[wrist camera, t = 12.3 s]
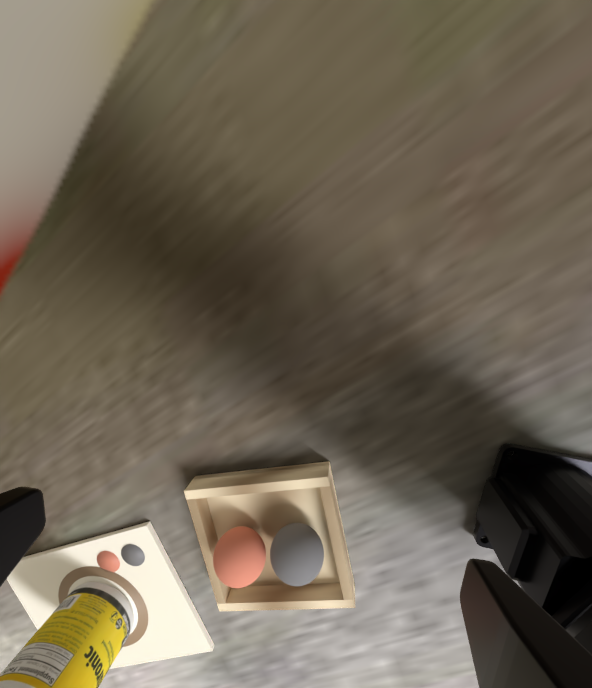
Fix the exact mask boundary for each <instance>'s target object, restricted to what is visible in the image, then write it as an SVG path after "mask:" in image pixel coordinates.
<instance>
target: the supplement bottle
mask: <svg viewBox="0 0 592 688" xmlns="http://www.w3.org/2000/svg"><path fill="white" fill-rule="evenodd" d="M133 623H134V615H133V611H132V608H131V605H130V603H129V602H128V600H127V599H126V597H125V596H124V595H123V594H122V593H121V592H120V591H118V590H117V589H115V588H114V587H112V586H110V585H107V584H104V583H100V582H87V583H83V584H81V585H79V586H78V587H76V588H75V589H74V590H73V591H72V592H71V593H70V594H69V595H68V596H67V597H66V598H65V599H64V601H63V602H62V603H61V604H60V605H59V606H58V607H57V609H56V610H55V611H54V612H53V613H52V614H51V616H50V617H49V618H48V619H47V620H46V621H45V623H44V624H43V625H42V626H41V627H40V629H39V630H38V631H37V632H36V633H35V634H34V636H33V637H32V638H31V639H30V640H29V641H28V643H27V644H26V645H25V646H24V647H23V648H22V650H21V651H20V652H19V653H18V654H17V656H16V657H15V658H14V659H13V660H12V661H11V662H10V664H9V665H8V666H7V667H6V668H5V669H4V671H3V672H2V673H1V674H0V688H98V687H99V685H100V683H101V682H102V680H103V678H104V677H105V675H106V673H107V672H108V670H109V668H110V667H111V665H112V663H113V662H114V660H115V658H116V657H117V655H118V653H119V652H120V650H121V649H122V647H123V645H124V644H125V642H126V640H127V638H128V636H129V634H130V632H131V630H132V628H133Z"/></svg>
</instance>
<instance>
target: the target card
mask: <svg viewBox="0 0 592 688" xmlns="http://www.w3.org/2000/svg"><path fill="white" fill-rule="evenodd" d="M7 580H8V582H9V584H10V585H11V587H12V589H13V590H14V592H15V593H16V595H17V597H18V598H19V600H20V602H21V603H22V605H23V607H24V608H25V610H26V612H27V613H28V615H29V616H30V618H31V620H32V621H33V623H34V625H35V626H36V628H37V630H39V629H40V627H41V626H42V625H43V624H44V623H45V621H46V620H47V619H48V618H49V617H50V616H51V614H52V613H53V612H54V611H55V610H56V609H57V607H58V606H59V605H60V604H61V603H62V602H63V601H64V599H65V598H66V597H67V596H68V595H69V594H70V593H71V592H72V591H73V590H74V589H75V588H76V587H78V586H79V585H81V584H83V583H87V582H100V583H104V584H107V585H110V586H112V587H114V588H115V589H117V590H118V591H120V592H121V593H122V594H123V595H124V596H125V597H126V599H127V600H128V602H129V603H130V605H131V608H132V611H133V615H134V623H133V628H132V630H131V632H130V634H129V636H128V638H127V640H126V642H125V644H124V645H123V647H122V649H121V650H120V652H119V653H118V655H117V657H116V658H115V660H114V662H113V663H112V665H111V667H110V668H109V669H112V668H118V667H124V666H129V665H135V664H141V663H147V662H152V661H158V660H164V659H169V658H175V657H181V656H187V655H192V654H198V653H204V652H209V651H213V648H214V643H213V641H212V639H211V637H210V635H209V633H208V631H207V630H206V628H205V626H204V624H203V622H202V620H201V618H200V616H199V614H198V612H197V610H196V608H195V607H194V605H193V603H192V601H191V599H190V597H189V595H188V593H187V591H186V589H185V587H184V585H183V584H182V582H181V580H180V578H179V576H178V574H177V572H176V570H175V568H174V566H173V564H172V562H171V561H170V559H169V557H168V555H167V553H166V551H165V549H164V547H163V545H162V543H161V541H160V539H159V538H158V536H157V534H156V532H155V530H154V528H153V526H152V524H151V522H150V521H149V522H146V523H142V524H139V525H135V526H132V527H128V528H124V529H121V530H117V531H114V532H110V533H107V534H103V535H100V536H96V537H93V538H89V539H86V540H82V541H79V542H75V543H71V544H68V545H64V546H61V547H57V548H54V549H50V550H47V551H43V552H40V553H36V554H33V555H29V556H26V557H23V558H22V559H21V560H20V562H19V563H18V564H17V566H16V567H15V568H14V569H13V571H12V572H11V573H10V575H9V576H8V577H7Z"/></svg>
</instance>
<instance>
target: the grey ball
mask: <svg viewBox="0 0 592 688" xmlns="http://www.w3.org/2000/svg"><path fill="white" fill-rule="evenodd" d="M270 560H271V565H272V568H273V570H274V572H275V574H276V575H277V576H278V578H279V579H280V580H281V581H283V582H284V583H286V584H288V585H291V586H303V585H306V584H308V583H310V582H311V581H313V580H314V579H315V578H316V577H317V575H318V574H319V572H320V570H321V568H322V565H323V561H324V548H323V544H322V541H321V539H320V537H319V535H318V534H317V533H316V531H315V530H314V529H313V528H311V527H310V526H308V525H306V524H303V523H291V524H288V525H286V526H284V527H283V528H281V529H280V530H279V531H278V533H277V534H276V535H275V537H274V539H273V541H272V544H271V549H270Z"/></svg>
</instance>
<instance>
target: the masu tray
mask: <svg viewBox="0 0 592 688" xmlns="http://www.w3.org/2000/svg"><path fill="white" fill-rule="evenodd" d="M184 493H185V497H186V500H187V503H188V507H189V510H190V513H191V517H192V520H193V524H194V527H195V530H196V534H197V537H198V541H199V544H200V547H201V551H202V554H203V557H204V561H205V564H206V568H207V571H208V574H209V578H210V581H211V585H212V588H213V591H214V595H215V598H216V602H217V605H218V608H219V611H251V610H289V609H327V608H355V583H354V579H353V574H352V569H351V564H350V559H349V554H348V549H347V544H346V539H345V535H344V530H343V525H342V520H341V515H340V510H339V505H338V500H337V496H336V491H335V486H334V481H333V476H332V471H331V466H330V461H328V462H319V463H310V464H300V465H291V466H282V467H272V468H263V469H254V470H244V471H235V472H226V473H216V474H207V475H198V476H195V477H194V478H193V479H192V481H191V482H190V483H189V485H188V486H187V488H186V489H185V490H184ZM291 523H303V524H306V525H308V526H310V527H311V528H313V529H314V530H315V531H316V533H317V534H318V535H319V537H320V539H321V541H322V544H323V548H324V561H323V565H322V568H321V570H320V572H319V574H318V575H317V577H316V578H315V579H314V580H313V581H311V582H310V583H308V584H306V585H303V586H291V585H288V584H286V583H284V582H283V581H281V580H280V579H279V578H278V576H277V575H276V574H275V572H274V570H273V568H272V565H271V560H270V549H271V544H272V541H273V539H274V537H275V535H276V534H277V533H278V531H279V530H280V529H281V528H283V527H284V526H286V525H288V524H291ZM239 526H244V527H249V528H251V529H253V530H255V531H256V532H257V533H258V534H259V535H260V536H261V538H262V540H263V542H264V544H265V548H266V561H265V565H264V568H263V570H262V572H261V574H260V576H259V577H258V578H257V579H256V580H255V581H254V582H253V583H252V584H250V585H248V586H246V587H243V588H232V587H229V586H227V585H225V584H224V583H222V582H221V581H220V580H219V578H218V577H217V575H216V573H215V570H214V566H213V554H214V550H215V547H216V544H217V543H218V541H219V539H220V538H221V537H222V535H223V534H225V533H226V532H227V531H228V530H230V529H232V528H235V527H239Z"/></svg>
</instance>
